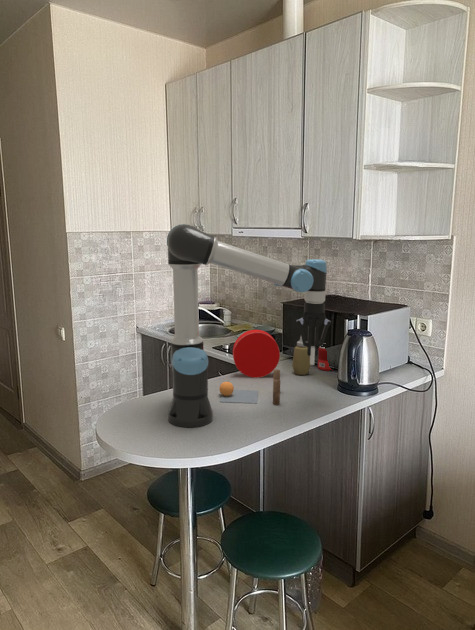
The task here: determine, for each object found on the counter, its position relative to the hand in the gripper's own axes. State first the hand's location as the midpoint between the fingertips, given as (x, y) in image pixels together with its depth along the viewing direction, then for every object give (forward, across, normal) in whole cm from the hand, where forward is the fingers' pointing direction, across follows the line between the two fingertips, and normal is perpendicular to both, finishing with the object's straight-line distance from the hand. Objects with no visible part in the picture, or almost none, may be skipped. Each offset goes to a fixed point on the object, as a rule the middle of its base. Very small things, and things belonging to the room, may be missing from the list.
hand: (312, 363), depth 187 cm
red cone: (+14, -10, -42) cm, 45 cm away
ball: (+11, +32, 0) cm, 34 cm away
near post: (+14, +13, +6) cm, 20 cm away
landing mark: (+14, +27, 0) cm, 30 cm away
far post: (+14, +13, -6) cm, 20 cm away
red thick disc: (+14, +22, -27) cm, 38 cm away
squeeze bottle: (+14, +2, -33) cm, 36 cm away
